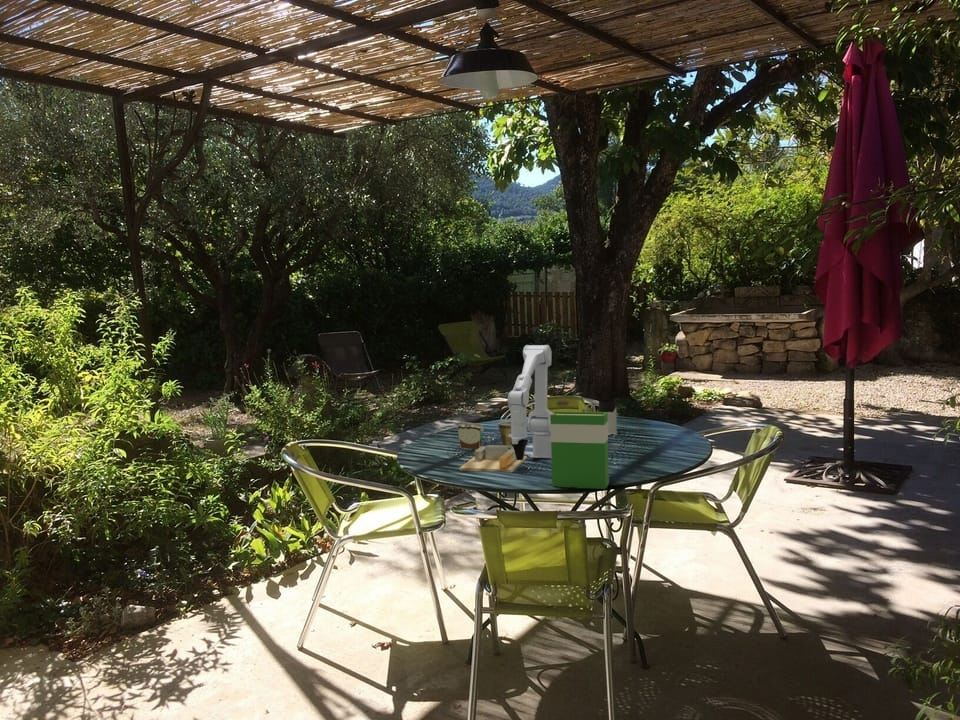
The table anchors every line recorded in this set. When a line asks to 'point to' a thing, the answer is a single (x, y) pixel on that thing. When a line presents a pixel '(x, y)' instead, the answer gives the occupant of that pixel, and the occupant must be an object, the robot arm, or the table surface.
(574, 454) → the green box
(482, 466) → the base
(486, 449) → the steel block
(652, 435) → the table surface
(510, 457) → the block
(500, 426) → the ceramic cup
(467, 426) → the food container
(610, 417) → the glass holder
